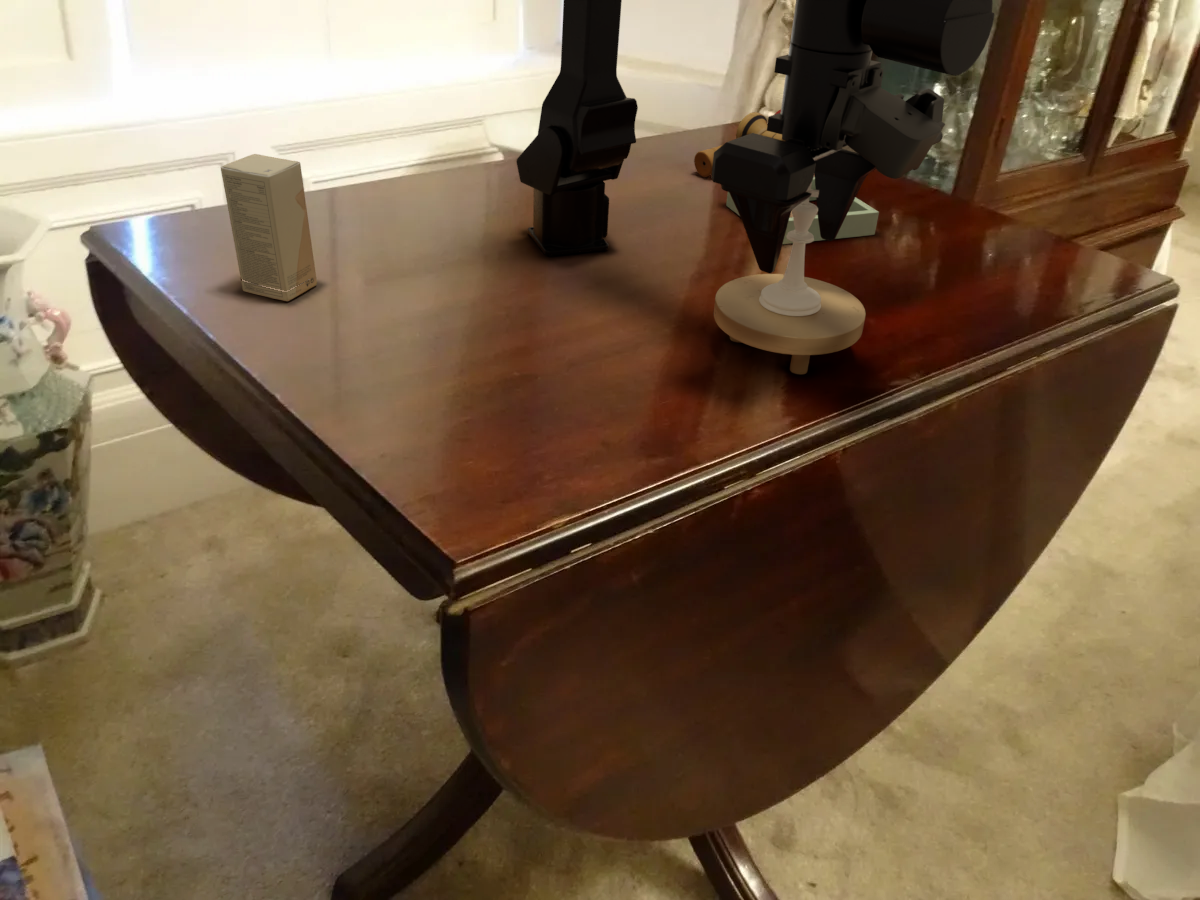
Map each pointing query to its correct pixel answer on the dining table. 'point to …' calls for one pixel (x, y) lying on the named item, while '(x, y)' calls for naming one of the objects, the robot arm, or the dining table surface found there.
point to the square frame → (855, 223)
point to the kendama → (747, 126)
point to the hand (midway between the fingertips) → (798, 254)
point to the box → (270, 225)
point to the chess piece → (795, 269)
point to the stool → (789, 320)
